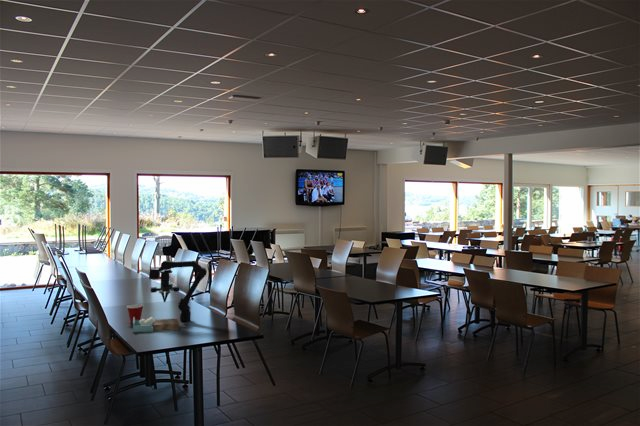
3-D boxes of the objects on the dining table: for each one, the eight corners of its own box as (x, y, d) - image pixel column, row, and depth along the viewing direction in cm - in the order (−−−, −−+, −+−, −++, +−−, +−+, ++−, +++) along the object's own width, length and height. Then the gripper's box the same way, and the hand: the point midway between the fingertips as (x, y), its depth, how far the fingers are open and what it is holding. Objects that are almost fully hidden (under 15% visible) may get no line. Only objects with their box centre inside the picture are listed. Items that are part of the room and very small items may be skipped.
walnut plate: (177, 324, 354) (177, 318, 354) (179, 329, 339) (179, 323, 339) (152, 325, 349) (152, 319, 349) (153, 331, 334) (153, 324, 334)
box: (152, 325, 350) (152, 316, 350) (153, 331, 333) (153, 322, 333) (133, 326, 346) (133, 316, 346) (132, 332, 329) (133, 323, 329)
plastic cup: (126, 321, 358) (126, 304, 358) (142, 320, 362) (143, 303, 362) (126, 325, 348) (126, 307, 348) (143, 324, 352) (143, 306, 351)
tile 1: (143, 318, 341) (139, 320, 341) (143, 319, 337) (139, 322, 336) (147, 324, 342) (143, 327, 342) (147, 326, 338) (143, 329, 337)
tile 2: (154, 320, 344) (152, 316, 343) (154, 321, 339) (152, 318, 339) (147, 324, 342) (145, 320, 342) (147, 326, 338) (145, 322, 337)
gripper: (151, 281, 351) (151, 304, 352) (180, 280, 358) (180, 303, 359) (150, 279, 362) (149, 301, 362) (178, 278, 369) (178, 300, 369)
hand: (164, 302), depth 363 cm, fingers closed
